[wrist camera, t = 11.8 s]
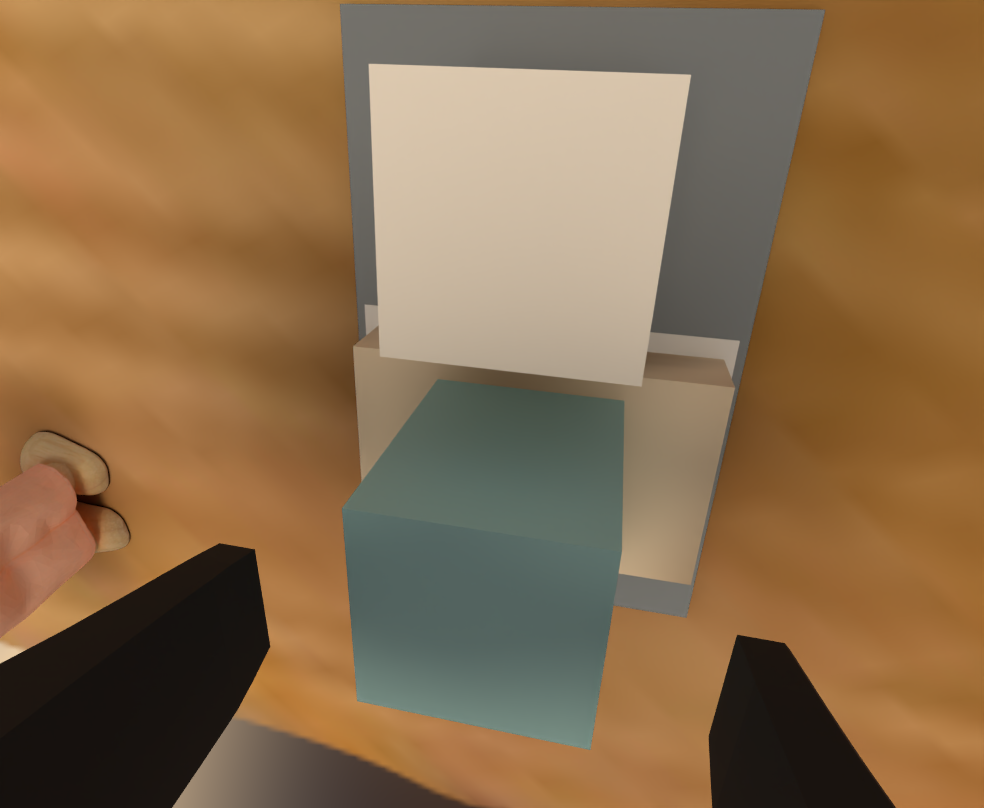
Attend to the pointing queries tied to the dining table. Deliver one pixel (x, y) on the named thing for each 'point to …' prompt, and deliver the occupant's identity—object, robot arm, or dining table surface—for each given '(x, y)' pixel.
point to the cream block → (522, 215)
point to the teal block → (490, 560)
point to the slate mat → (700, 167)
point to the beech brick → (647, 439)
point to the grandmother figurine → (51, 523)
